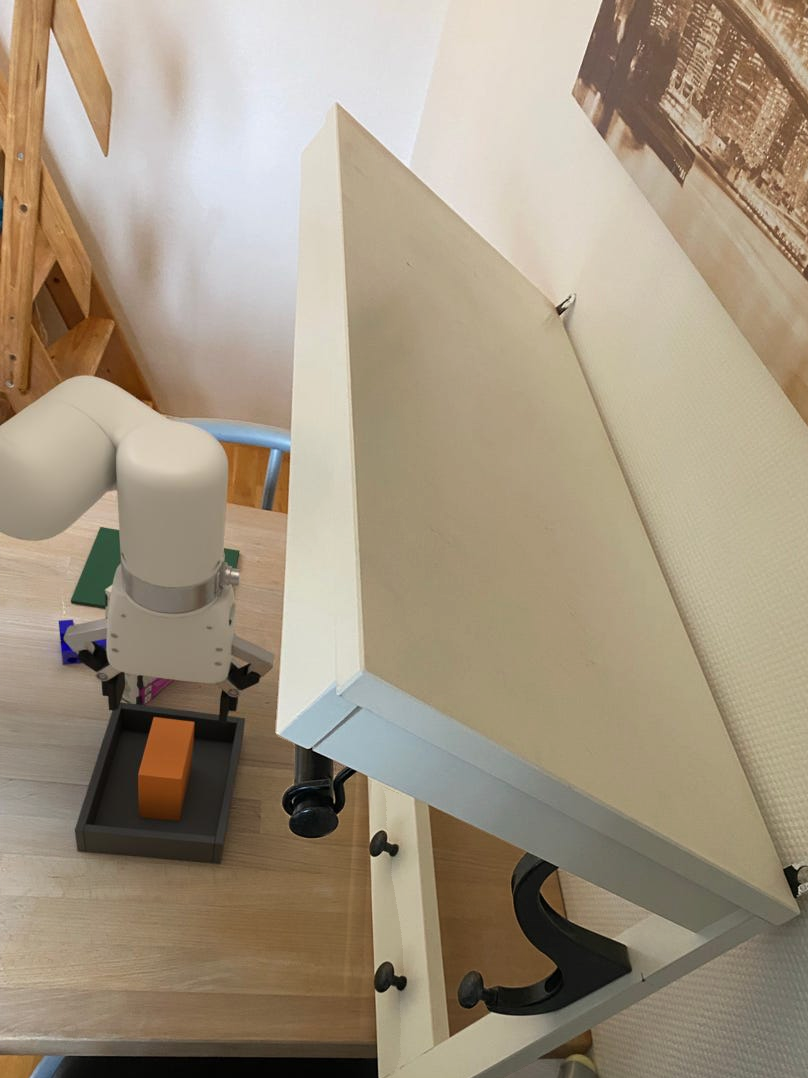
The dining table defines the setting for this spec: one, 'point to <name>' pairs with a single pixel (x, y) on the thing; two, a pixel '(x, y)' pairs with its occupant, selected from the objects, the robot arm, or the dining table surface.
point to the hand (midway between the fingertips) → (171, 705)
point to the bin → (115, 789)
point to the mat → (110, 568)
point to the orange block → (165, 769)
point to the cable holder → (67, 652)
